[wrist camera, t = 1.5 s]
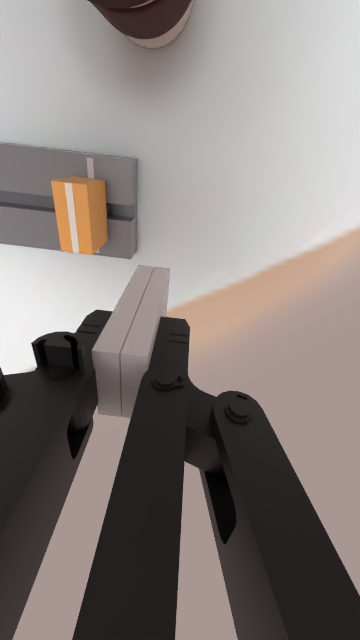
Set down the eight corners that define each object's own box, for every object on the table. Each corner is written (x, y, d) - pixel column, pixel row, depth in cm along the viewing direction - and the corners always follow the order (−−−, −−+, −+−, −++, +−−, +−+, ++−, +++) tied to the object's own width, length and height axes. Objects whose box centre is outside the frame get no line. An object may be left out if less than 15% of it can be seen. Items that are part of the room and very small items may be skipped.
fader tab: (82, 175, 28) (50, 180, 22) (110, 178, 28) (86, 185, 22) (87, 232, 31) (60, 251, 25) (112, 235, 31) (91, 255, 25)
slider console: (-88, 131, 28) (-118, 129, 25) (137, 159, 28) (130, 159, 25) (-52, 228, 33) (-74, 234, 30) (136, 251, 33) (130, 259, 30)
